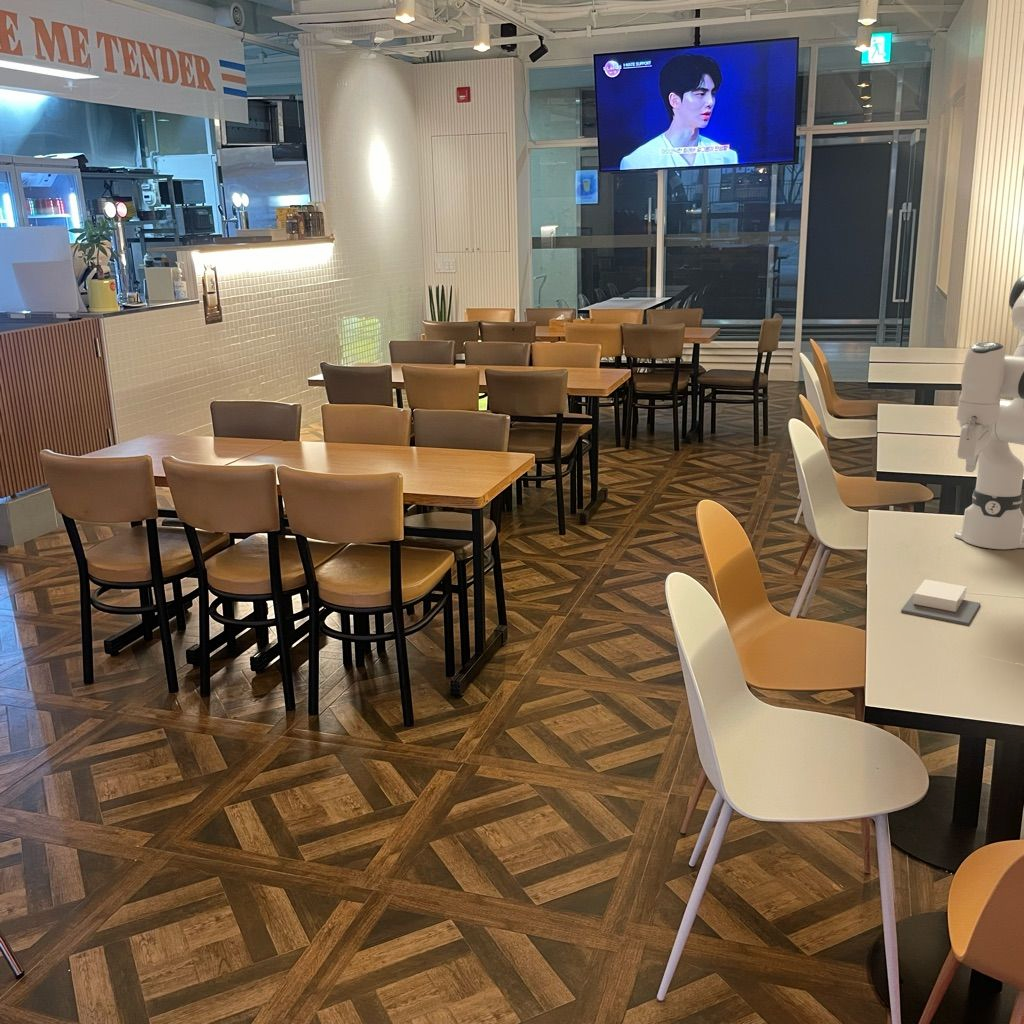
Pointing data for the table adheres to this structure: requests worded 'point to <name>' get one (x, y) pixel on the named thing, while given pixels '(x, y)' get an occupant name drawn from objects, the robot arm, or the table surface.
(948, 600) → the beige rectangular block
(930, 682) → the table surface
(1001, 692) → the table surface
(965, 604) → the charcoal mat
